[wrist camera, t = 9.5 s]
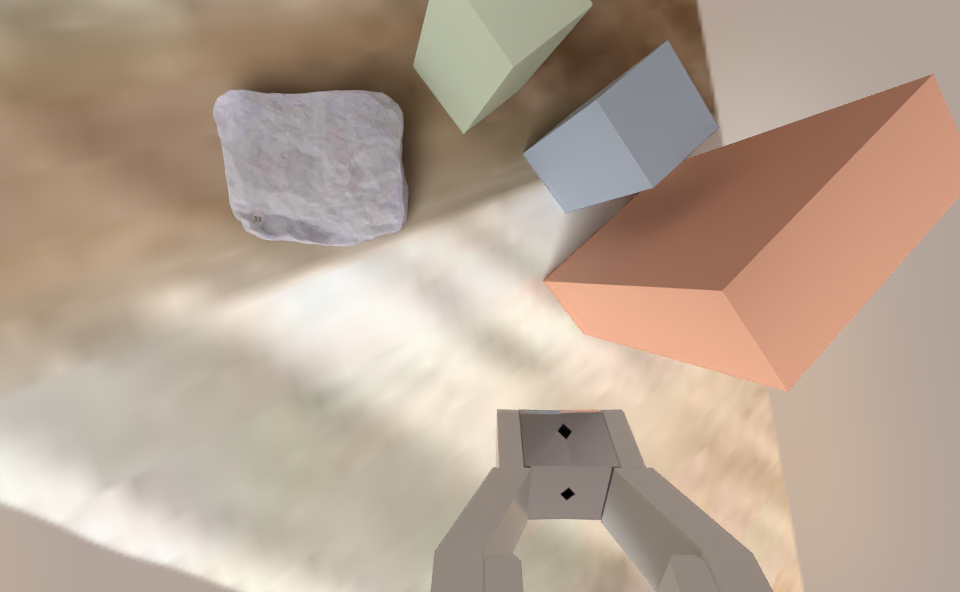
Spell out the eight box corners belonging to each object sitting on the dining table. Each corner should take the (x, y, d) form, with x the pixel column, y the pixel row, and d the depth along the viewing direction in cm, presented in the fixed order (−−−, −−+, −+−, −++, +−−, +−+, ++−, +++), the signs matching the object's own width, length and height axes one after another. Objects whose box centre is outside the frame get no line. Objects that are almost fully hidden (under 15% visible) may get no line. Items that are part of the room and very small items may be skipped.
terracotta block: (542, 281, 35) (722, 290, 17) (668, 165, 37) (932, 73, 20) (583, 333, 36) (787, 391, 19) (702, 218, 39) (977, 175, 21)
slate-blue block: (522, 153, 33) (596, 99, 23) (574, 110, 34) (667, 40, 24) (565, 213, 35) (653, 187, 24) (613, 169, 36) (718, 127, 25)
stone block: (412, 233, 33) (398, 98, 31) (419, 242, 29) (403, 83, 26) (251, 247, 31) (219, 100, 28) (231, 259, 26) (191, 85, 23)
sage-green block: (412, 66, 31) (439, -41, 20) (472, 22, 32) (527, -102, 21) (463, 134, 32) (513, 66, 22) (519, 89, 33) (593, 5, 23)
